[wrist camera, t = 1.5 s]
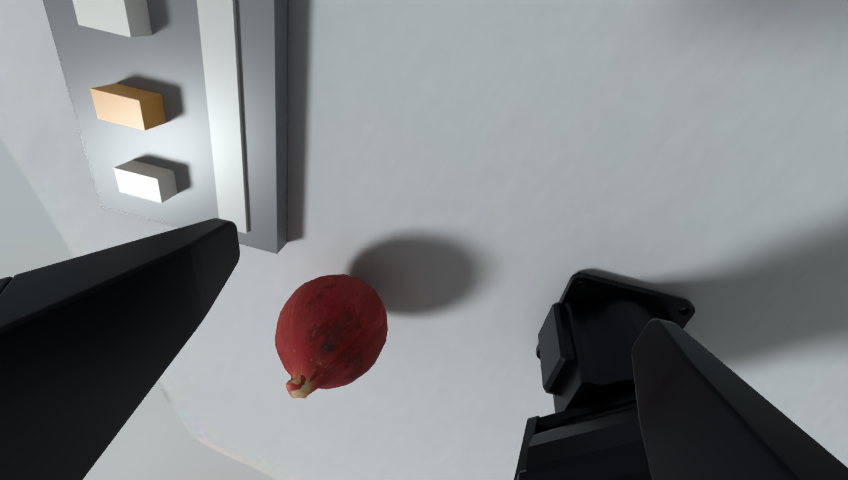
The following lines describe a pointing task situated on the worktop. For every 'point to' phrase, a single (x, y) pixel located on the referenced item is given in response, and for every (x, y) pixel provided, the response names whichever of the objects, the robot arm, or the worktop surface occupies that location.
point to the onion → (330, 333)
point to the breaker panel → (185, 108)
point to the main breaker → (128, 106)
